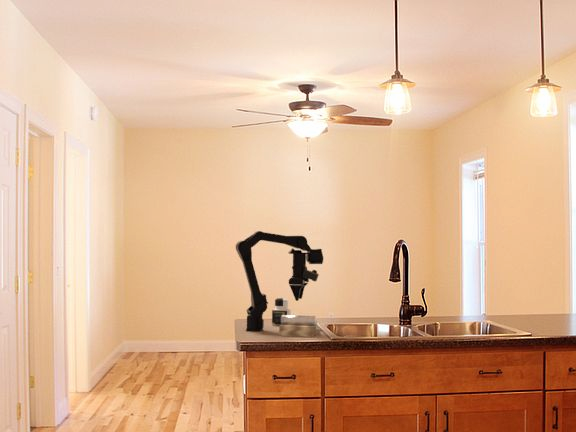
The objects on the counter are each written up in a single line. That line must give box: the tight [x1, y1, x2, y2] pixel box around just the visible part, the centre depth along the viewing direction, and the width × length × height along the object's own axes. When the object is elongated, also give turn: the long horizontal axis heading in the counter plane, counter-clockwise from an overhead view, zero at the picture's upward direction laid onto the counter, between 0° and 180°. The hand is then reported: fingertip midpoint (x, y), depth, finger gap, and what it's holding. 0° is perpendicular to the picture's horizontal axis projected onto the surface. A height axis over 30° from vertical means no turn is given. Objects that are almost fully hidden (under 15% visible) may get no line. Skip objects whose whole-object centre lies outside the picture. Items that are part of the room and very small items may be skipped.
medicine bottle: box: [271, 297, 292, 326], centre depth 316 cm, size 7×7×12 cm
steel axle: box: [281, 314, 316, 327], centre depth 286 cm, size 14×4×4 cm, turn 81°
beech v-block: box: [278, 323, 317, 338], centre depth 286 cm, size 14×11×4 cm
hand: (298, 299), depth 300 cm, fingers open, 9 cm apart
